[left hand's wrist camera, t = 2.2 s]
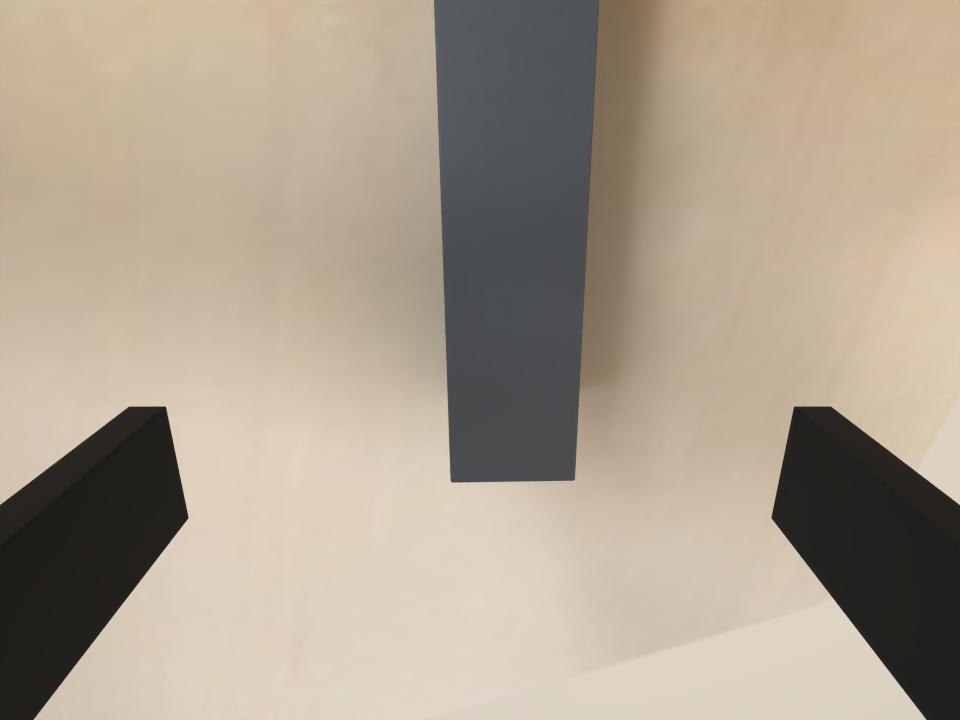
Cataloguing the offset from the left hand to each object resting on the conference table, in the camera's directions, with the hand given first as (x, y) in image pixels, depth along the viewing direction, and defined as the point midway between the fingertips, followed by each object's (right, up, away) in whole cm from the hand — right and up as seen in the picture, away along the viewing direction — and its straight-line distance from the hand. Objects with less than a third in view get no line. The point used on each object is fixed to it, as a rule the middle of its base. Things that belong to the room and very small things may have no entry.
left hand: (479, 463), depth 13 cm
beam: (+1, +38, +4) cm, 38 cm away
